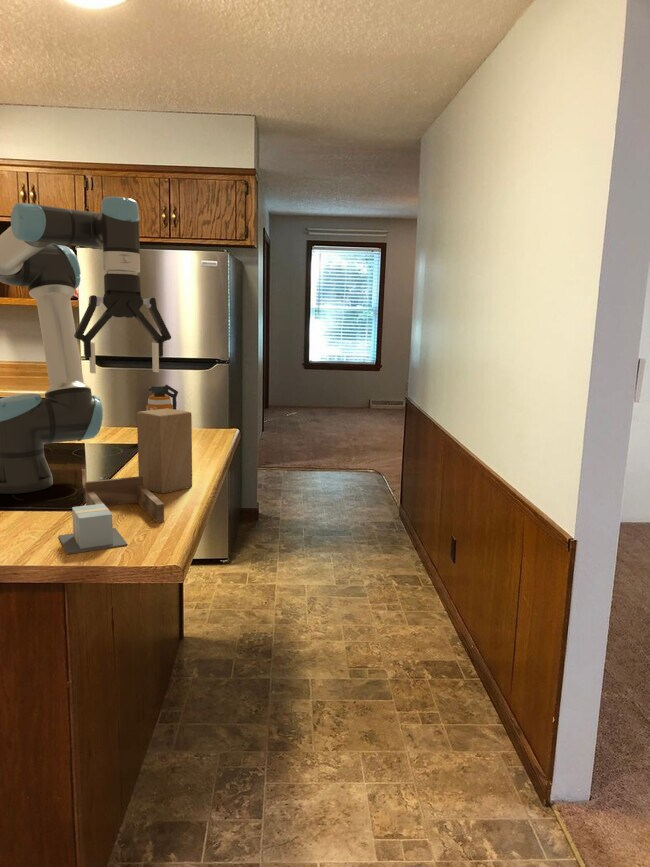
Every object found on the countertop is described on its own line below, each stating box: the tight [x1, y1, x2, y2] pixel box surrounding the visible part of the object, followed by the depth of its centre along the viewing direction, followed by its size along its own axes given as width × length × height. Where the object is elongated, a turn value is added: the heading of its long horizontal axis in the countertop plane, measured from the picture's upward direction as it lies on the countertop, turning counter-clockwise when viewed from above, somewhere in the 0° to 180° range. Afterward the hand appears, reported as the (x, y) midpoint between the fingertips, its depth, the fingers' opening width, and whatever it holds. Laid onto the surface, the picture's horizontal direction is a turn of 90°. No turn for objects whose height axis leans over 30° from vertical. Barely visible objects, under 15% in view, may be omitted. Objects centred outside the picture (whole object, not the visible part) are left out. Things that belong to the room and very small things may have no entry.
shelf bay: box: [84, 475, 165, 523], centre depth 142 cm, size 18×13×6 cm
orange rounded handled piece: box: [146, 384, 179, 411], centre depth 229 cm, size 9×11×20 cm
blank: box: [71, 504, 114, 549], centre depth 124 cm, size 8×6×6 cm
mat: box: [58, 527, 128, 555], centre depth 125 cm, size 11×11×1 cm
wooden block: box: [136, 408, 193, 495], centre depth 165 cm, size 10×10×20 cm
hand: (125, 372), depth 141 cm, fingers open, 13 cm apart
